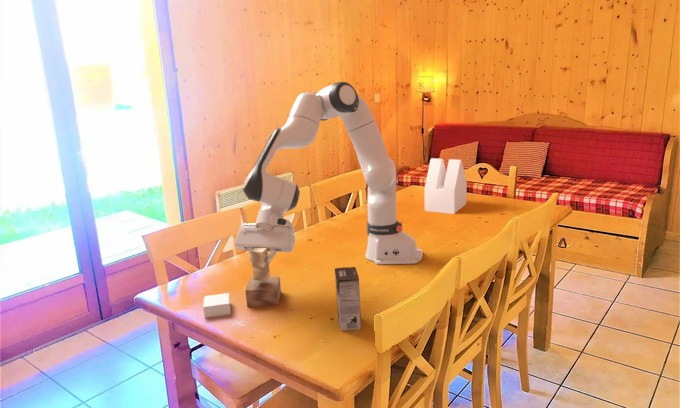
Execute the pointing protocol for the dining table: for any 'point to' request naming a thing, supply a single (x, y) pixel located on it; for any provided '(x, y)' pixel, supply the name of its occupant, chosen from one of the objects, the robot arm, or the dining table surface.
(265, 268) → the oak pillar
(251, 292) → the walnut block
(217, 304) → the white square block
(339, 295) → the coffee box
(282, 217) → the robot arm
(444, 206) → the white notched block
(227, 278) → the dining table surface
